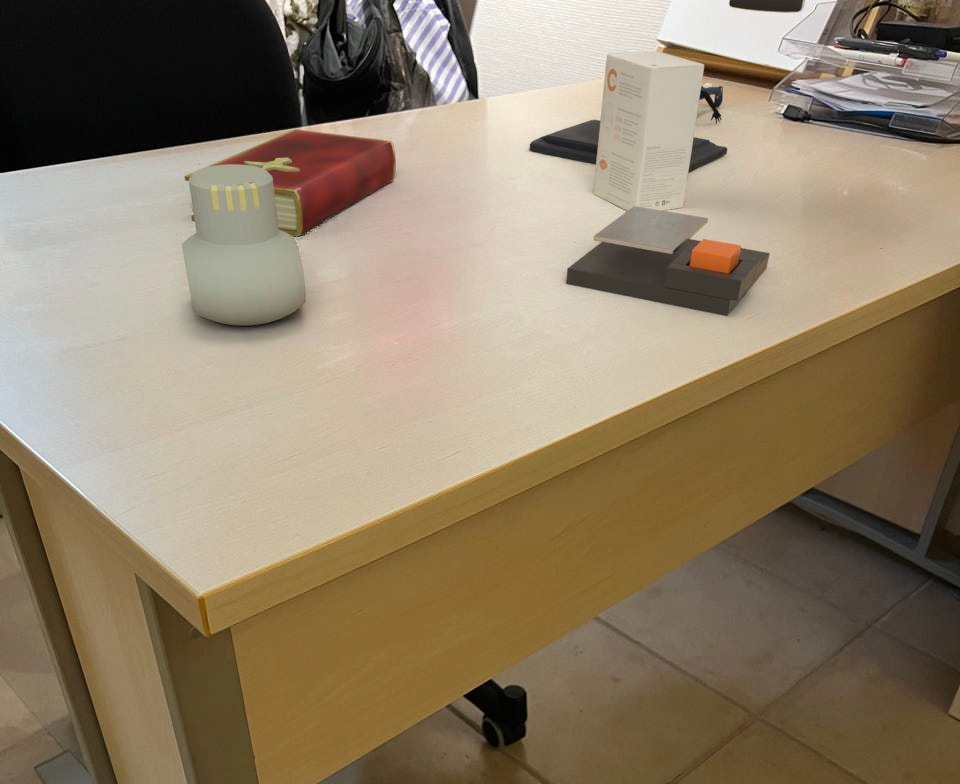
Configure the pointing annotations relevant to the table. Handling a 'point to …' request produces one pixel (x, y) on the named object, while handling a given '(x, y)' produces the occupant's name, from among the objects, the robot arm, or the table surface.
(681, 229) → the weighing plate
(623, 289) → the scale
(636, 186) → the small box
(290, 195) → the hardcover book
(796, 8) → the battery charger
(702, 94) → the person figurine
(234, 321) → the air freshener
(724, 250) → the button
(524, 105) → the table surface
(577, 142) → the wallet
